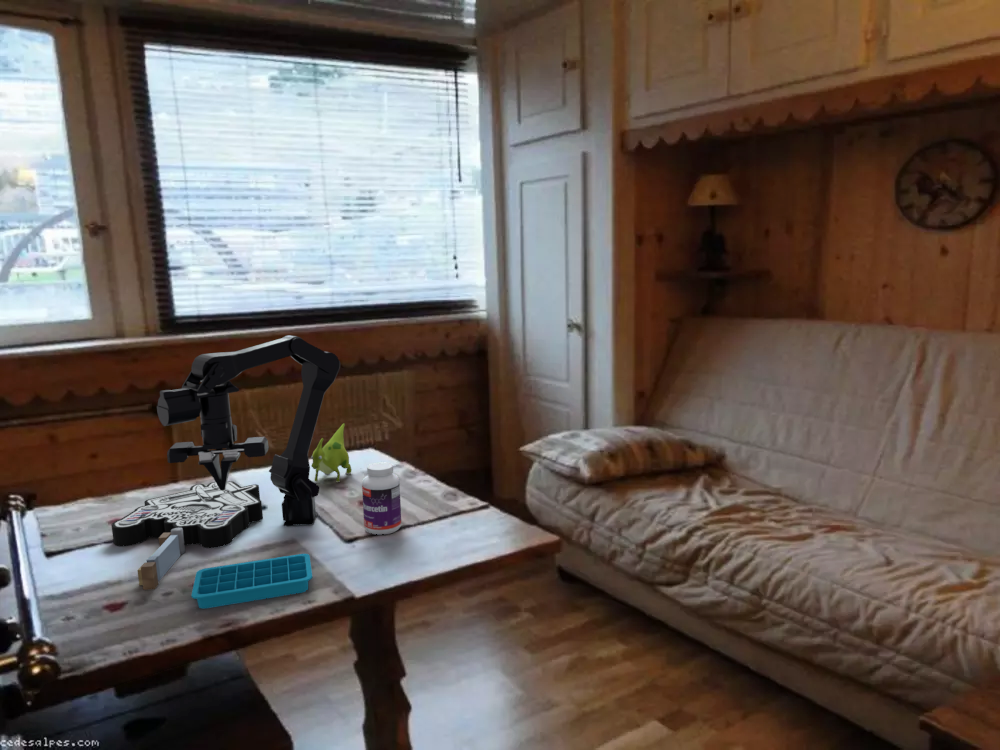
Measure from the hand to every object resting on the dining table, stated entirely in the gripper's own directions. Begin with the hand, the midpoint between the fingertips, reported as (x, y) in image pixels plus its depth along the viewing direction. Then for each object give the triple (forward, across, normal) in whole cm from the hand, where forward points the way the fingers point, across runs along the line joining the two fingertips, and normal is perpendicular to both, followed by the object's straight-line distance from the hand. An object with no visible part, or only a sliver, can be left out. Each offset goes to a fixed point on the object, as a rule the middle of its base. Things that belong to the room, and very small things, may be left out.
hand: (223, 489), depth 147 cm
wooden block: (+12, +11, +16) cm, 23 cm away
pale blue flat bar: (+12, +10, +8) cm, 18 cm away
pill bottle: (+12, -32, 0) cm, 34 cm away
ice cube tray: (+13, -9, +22) cm, 27 cm away
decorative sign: (+13, +9, -16) cm, 22 cm away
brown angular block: (+12, +12, +2) cm, 17 cm away
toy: (+12, -19, -38) cm, 45 cm away
